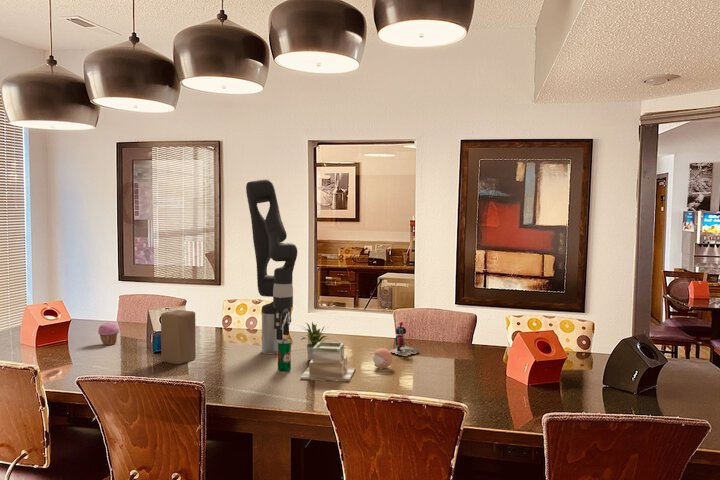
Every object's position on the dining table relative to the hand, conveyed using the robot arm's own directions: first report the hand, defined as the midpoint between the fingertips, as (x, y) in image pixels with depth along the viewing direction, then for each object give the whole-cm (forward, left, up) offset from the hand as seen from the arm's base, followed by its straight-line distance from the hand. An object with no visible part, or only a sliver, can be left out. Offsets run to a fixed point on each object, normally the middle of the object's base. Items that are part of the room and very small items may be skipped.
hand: (282, 337), depth 214 cm
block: (-6, -45, -13) cm, 48 cm away
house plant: (-17, +8, -13) cm, 23 cm away
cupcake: (-27, -89, -13) cm, 95 cm away
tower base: (+3, +19, -13) cm, 23 cm away
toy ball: (-9, +38, -13) cm, 41 cm away
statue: (-34, +45, -13) cm, 58 cm away
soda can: (0, +1, -13) cm, 13 cm away
